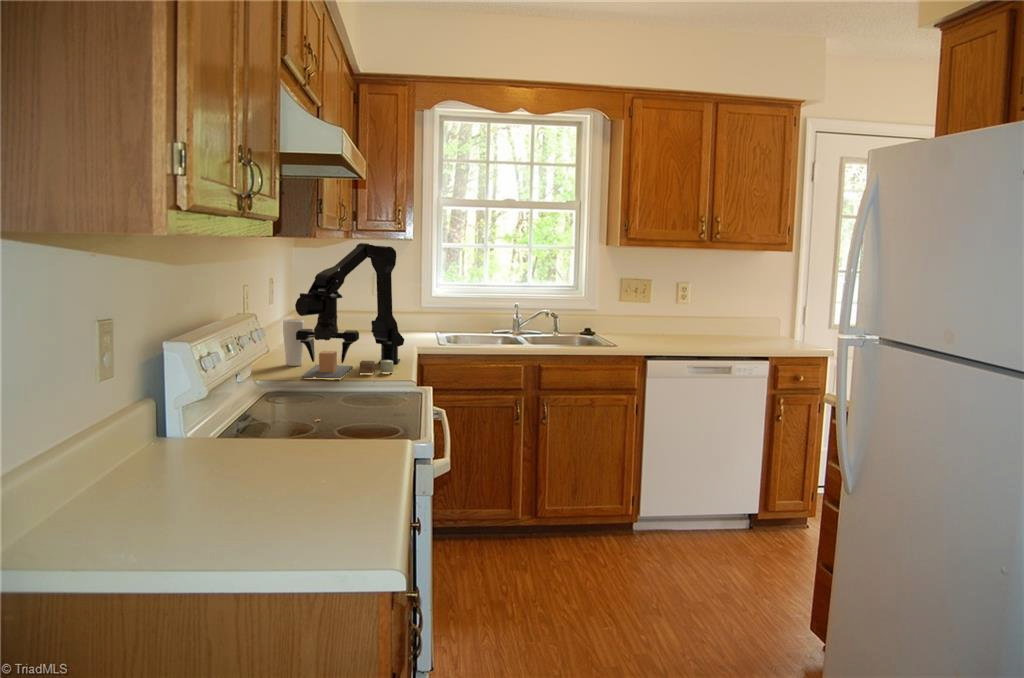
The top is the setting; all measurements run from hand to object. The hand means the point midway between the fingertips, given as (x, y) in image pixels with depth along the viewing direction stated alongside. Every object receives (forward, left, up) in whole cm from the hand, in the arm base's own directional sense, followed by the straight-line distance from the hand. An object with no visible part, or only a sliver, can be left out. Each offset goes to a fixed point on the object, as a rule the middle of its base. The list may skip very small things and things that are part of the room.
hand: (327, 362), depth 249 cm
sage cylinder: (-4, +18, -4) cm, 19 cm away
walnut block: (-2, +12, -4) cm, 13 cm away
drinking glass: (-12, -14, -4) cm, 19 cm away
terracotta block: (0, 0, -3) cm, 3 cm away
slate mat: (0, 0, -4) cm, 4 cm away
